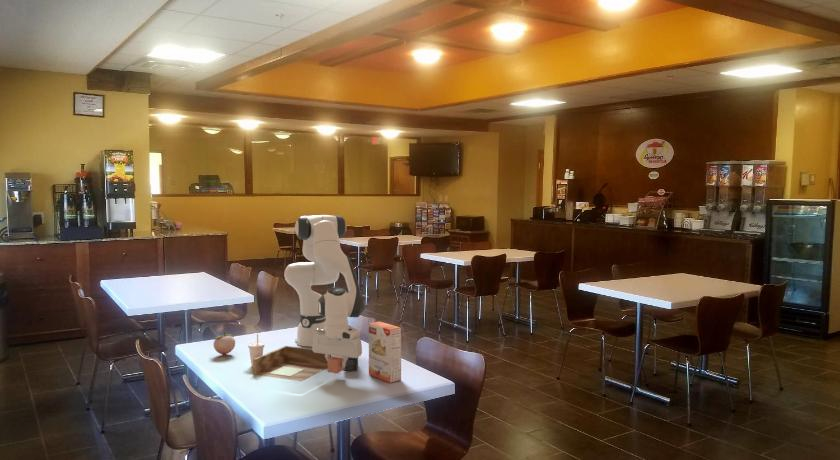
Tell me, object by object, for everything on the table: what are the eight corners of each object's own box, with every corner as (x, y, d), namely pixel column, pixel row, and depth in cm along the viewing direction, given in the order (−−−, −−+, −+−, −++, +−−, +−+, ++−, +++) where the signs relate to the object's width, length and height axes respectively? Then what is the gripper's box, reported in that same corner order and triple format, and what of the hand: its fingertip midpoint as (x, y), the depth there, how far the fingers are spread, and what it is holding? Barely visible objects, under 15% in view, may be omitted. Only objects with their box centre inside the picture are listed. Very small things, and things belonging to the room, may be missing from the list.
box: (344, 365, 247) (344, 340, 247) (358, 365, 248) (358, 340, 247) (342, 371, 239) (342, 345, 239) (357, 371, 240) (357, 345, 239)
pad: (283, 366, 242) (283, 366, 242) (304, 369, 239) (304, 369, 239) (268, 373, 233) (268, 373, 233) (290, 376, 229) (290, 376, 229)
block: (335, 367, 233) (335, 355, 232) (344, 368, 231) (344, 356, 231) (328, 372, 227) (328, 359, 227) (337, 373, 226) (337, 360, 225)
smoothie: (260, 370, 240) (259, 336, 239) (245, 369, 241) (245, 335, 240) (267, 365, 246) (267, 332, 245) (253, 364, 247) (252, 331, 246)
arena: (285, 361, 253) (285, 345, 252) (331, 367, 245) (331, 351, 244) (253, 376, 232) (253, 359, 232) (301, 383, 224) (301, 365, 224)
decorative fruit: (223, 359, 256) (223, 336, 255) (210, 356, 260) (210, 333, 259) (240, 354, 264) (239, 331, 263) (227, 351, 268) (226, 329, 267)
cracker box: (367, 375, 235) (367, 322, 234) (380, 372, 239) (380, 320, 237) (389, 383, 224) (389, 329, 223) (401, 380, 228) (402, 326, 227)
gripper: (308, 329, 229) (308, 365, 230) (356, 335, 221) (356, 371, 222) (317, 326, 235) (317, 360, 236) (363, 331, 227) (363, 367, 228)
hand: (336, 366), depth 229 cm, fingers closed on block, 4 cm apart
